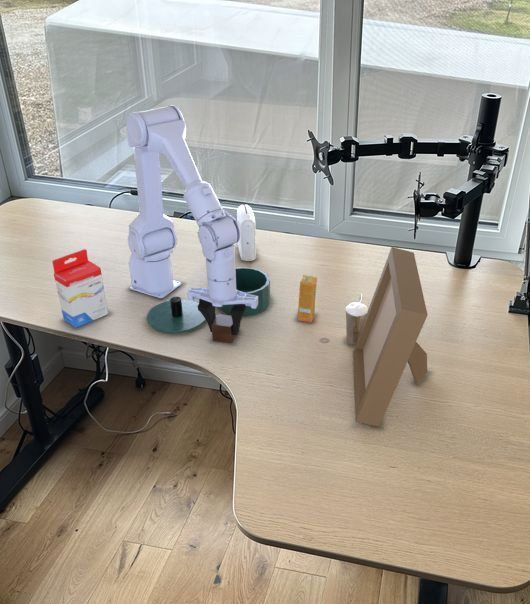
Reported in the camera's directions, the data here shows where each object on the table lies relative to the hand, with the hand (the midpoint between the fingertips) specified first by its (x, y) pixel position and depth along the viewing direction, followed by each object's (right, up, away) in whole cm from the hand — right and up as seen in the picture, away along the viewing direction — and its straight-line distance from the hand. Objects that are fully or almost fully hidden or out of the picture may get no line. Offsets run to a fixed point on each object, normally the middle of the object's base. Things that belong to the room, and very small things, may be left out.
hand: (224, 331), depth 139 cm
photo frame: (+34, -12, -12) cm, 38 cm away
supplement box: (+17, +3, +8) cm, 19 cm away
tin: (+3, +7, +12) cm, 15 cm away
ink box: (-31, +3, +6) cm, 32 cm away
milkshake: (+28, -2, +1) cm, 28 cm away
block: (0, -1, +1) cm, 1 cm away
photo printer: (+2, +22, +33) cm, 39 cm away
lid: (-11, +3, +6) cm, 13 cm away
